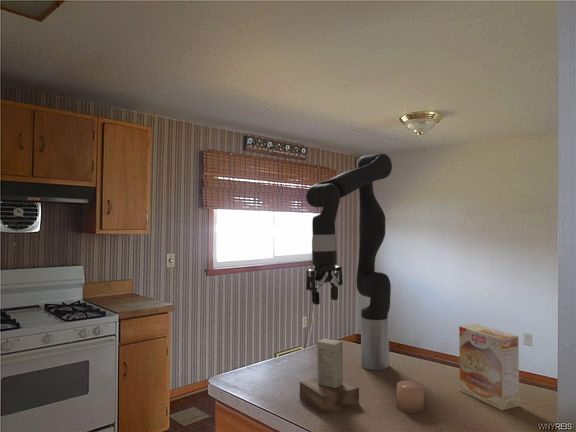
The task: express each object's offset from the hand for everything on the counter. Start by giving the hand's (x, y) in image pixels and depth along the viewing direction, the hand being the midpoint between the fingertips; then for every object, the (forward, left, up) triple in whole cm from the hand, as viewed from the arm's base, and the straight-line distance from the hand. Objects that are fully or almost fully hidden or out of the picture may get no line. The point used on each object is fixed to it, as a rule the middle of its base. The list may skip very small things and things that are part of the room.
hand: (325, 302), depth 126 cm
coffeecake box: (-29, +36, -27) cm, 54 cm away
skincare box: (+5, +6, -22) cm, 24 cm away
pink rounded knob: (-7, +24, -26) cm, 37 cm away
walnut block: (+6, +7, -27) cm, 28 cm away
